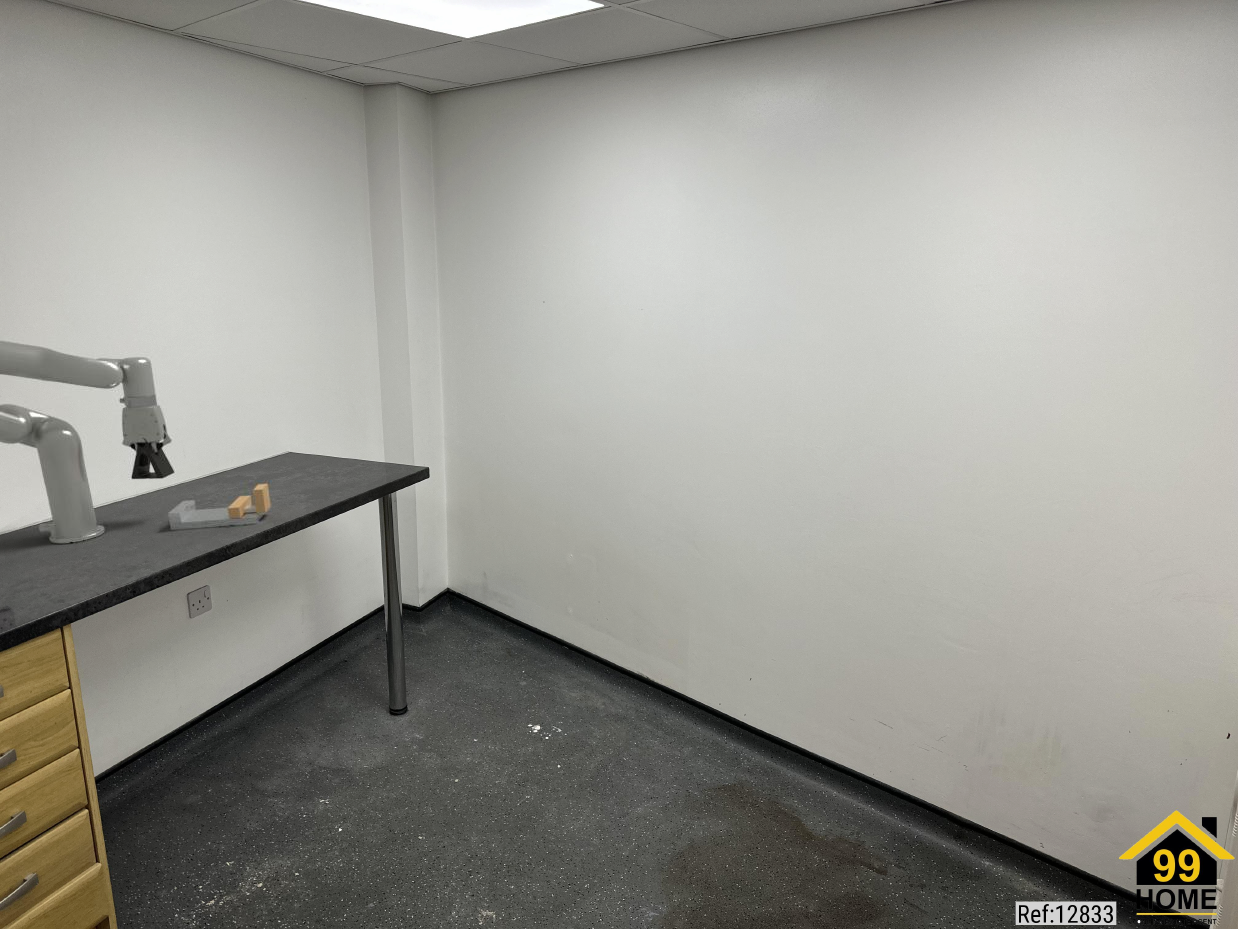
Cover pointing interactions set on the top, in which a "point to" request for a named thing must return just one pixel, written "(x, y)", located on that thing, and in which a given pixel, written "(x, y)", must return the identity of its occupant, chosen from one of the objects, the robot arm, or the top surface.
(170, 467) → the black triangular frame
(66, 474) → the robot arm
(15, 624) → the top surface
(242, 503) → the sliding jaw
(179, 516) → the fixed jaw
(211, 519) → the grey base plate
